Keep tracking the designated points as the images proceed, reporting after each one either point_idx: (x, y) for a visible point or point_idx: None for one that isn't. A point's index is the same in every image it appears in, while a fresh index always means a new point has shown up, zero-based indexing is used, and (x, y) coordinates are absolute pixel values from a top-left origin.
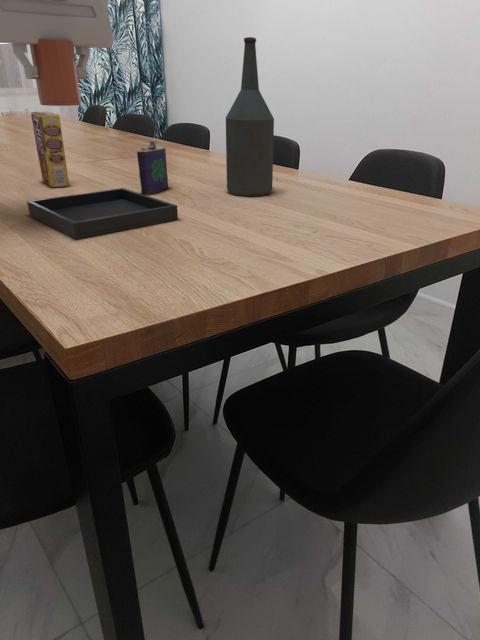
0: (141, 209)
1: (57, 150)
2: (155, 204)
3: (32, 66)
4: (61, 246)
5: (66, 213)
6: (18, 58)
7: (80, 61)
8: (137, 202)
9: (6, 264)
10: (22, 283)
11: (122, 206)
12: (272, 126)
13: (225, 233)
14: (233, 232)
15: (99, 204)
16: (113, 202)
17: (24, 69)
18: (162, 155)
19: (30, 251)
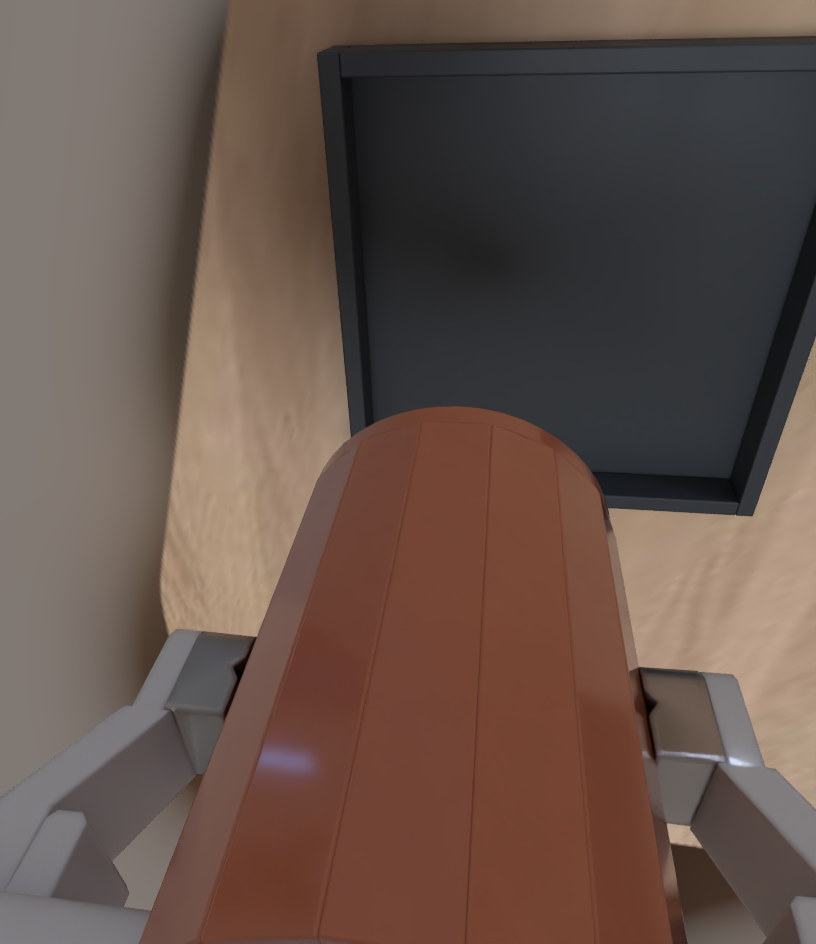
0: (734, 333)
1: None
2: (765, 398)
3: (199, 770)
4: (311, 487)
5: (459, 188)
6: (64, 767)
7: (749, 853)
8: (807, 239)
9: (169, 518)
10: (185, 613)
11: (722, 229)
12: None
13: (707, 644)
14: (730, 650)
15: (674, 112)
16: (757, 115)
17: (147, 681)
18: None
19: (232, 474)
